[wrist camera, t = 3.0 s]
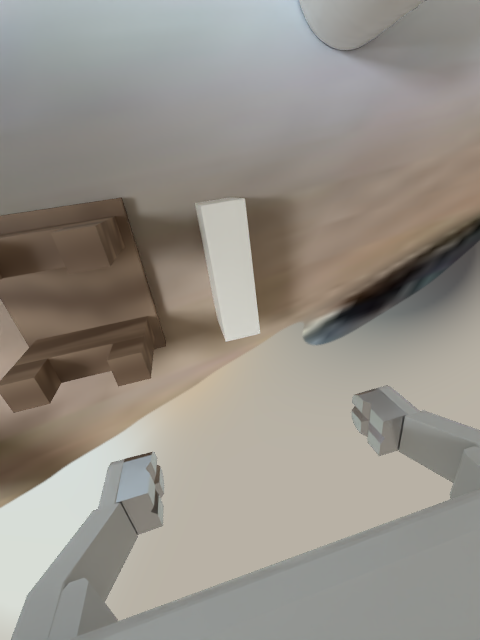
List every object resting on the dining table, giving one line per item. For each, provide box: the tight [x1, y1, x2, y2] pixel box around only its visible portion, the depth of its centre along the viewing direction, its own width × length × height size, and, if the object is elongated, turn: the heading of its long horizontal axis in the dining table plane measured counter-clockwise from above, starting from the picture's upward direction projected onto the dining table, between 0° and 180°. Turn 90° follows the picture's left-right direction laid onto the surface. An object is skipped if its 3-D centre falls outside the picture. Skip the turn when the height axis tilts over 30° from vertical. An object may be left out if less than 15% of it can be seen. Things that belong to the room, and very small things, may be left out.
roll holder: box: [0, 198, 166, 413], centre depth 25 cm, size 17×14×9 cm
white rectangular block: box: [195, 197, 260, 342], centre depth 29 cm, size 14×4×6 cm, turn 8°
